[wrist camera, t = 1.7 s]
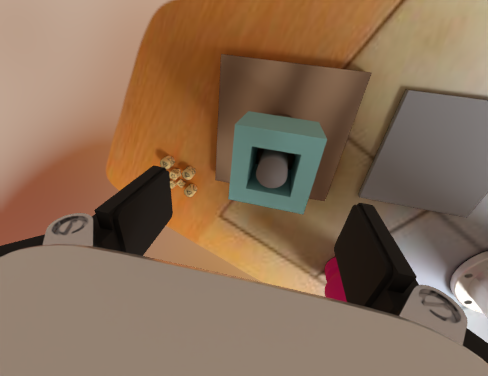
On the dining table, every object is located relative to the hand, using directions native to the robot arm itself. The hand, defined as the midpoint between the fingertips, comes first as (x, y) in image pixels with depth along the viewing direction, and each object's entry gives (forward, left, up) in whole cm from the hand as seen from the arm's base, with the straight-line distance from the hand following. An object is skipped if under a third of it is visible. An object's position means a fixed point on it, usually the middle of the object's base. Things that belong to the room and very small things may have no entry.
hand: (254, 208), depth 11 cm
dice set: (+12, +8, -17) cm, 22 cm away
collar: (-1, 0, -10) cm, 10 cm away
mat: (-18, 0, -16) cm, 24 cm away
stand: (-1, 0, -16) cm, 16 cm away
